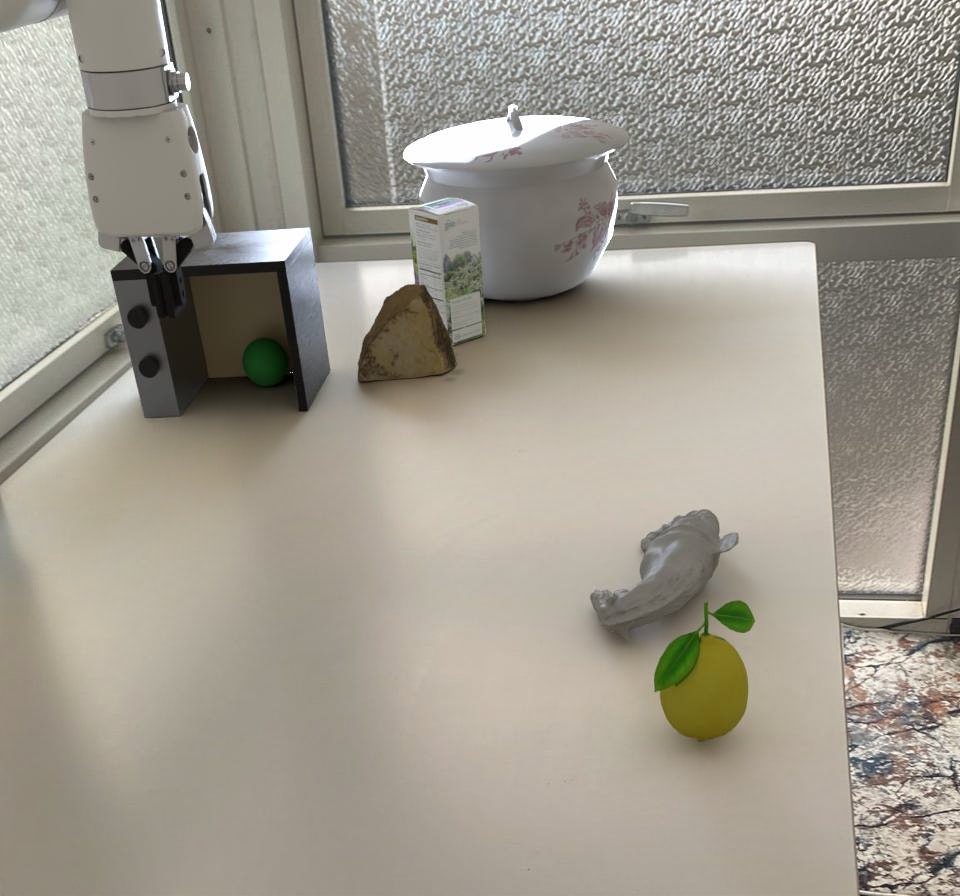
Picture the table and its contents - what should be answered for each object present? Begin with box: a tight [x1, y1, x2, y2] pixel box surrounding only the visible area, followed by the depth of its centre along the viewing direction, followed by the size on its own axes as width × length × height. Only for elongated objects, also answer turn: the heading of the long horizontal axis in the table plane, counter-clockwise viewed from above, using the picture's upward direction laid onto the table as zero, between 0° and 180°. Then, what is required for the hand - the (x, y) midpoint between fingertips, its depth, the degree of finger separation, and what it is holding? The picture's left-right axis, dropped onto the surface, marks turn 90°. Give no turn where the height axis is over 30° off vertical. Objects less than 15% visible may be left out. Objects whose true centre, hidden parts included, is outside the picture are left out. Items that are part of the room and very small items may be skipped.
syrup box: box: [408, 198, 486, 347], centre depth 152 cm, size 6×6×14 cm
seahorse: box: [589, 508, 740, 641], centre depth 102 cm, size 5×12×20 cm
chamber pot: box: [402, 103, 630, 302], centre depth 165 cm, size 28×28×21 cm
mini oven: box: [109, 227, 331, 419], centre depth 142 cm, size 18×14×15 cm
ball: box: [242, 338, 288, 387], centre depth 147 cm, size 5×5×5 cm
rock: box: [357, 283, 458, 382], centre depth 146 cm, size 11×9×10 cm
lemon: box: [653, 599, 756, 742], centre depth 83 cm, size 7×6×10 cm
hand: (171, 313), depth 124 cm, fingers closed
